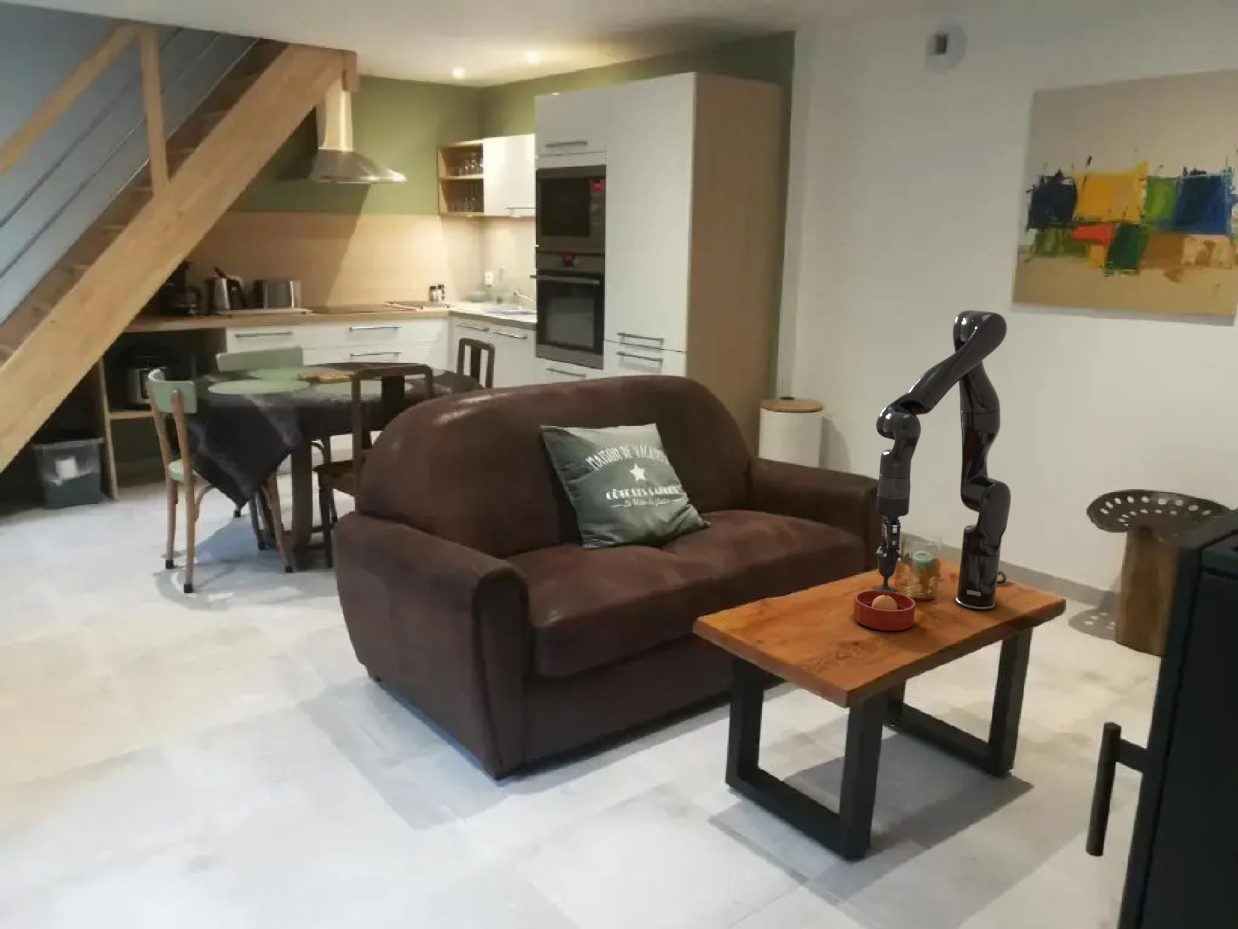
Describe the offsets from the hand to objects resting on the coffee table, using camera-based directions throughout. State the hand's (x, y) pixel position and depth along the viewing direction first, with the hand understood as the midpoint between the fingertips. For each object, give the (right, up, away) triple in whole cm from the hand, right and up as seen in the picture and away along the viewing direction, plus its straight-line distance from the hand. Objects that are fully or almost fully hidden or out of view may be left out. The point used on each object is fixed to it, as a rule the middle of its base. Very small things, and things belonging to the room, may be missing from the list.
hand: (888, 558), depth 233 cm
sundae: (+6, -11, +25) cm, 28 cm away
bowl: (0, -16, +4) cm, 16 cm away
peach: (0, -15, +4) cm, 16 cm away
